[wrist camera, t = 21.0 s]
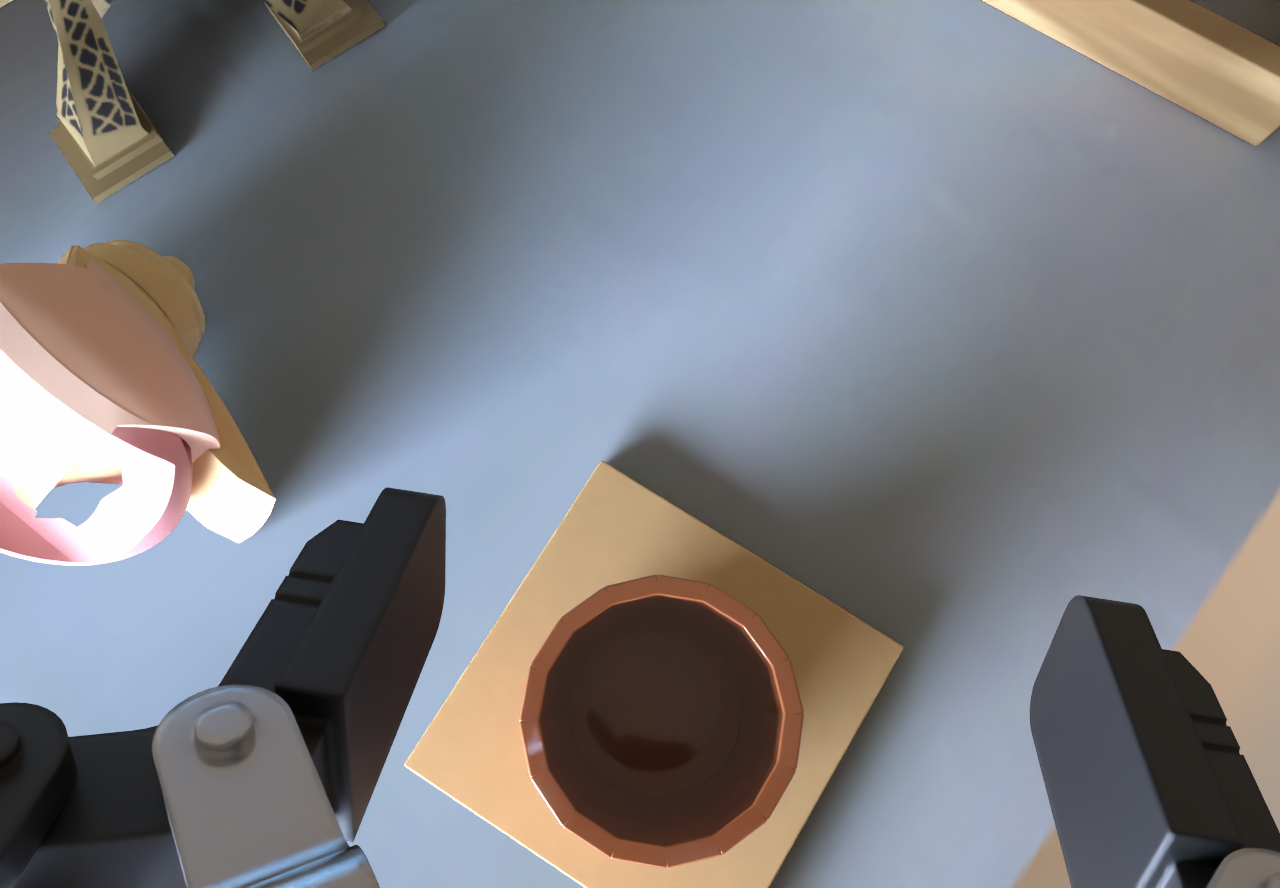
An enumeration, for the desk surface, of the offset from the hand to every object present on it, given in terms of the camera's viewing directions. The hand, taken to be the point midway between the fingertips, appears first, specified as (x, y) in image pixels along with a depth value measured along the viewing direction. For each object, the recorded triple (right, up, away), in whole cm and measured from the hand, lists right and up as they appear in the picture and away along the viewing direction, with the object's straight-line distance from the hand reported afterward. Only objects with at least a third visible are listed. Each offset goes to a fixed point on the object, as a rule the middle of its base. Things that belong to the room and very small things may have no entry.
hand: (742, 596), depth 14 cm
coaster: (-1, -5, +16) cm, 17 cm away
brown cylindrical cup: (-1, -5, +16) cm, 16 cm away
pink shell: (-16, +2, +18) cm, 24 cm away
